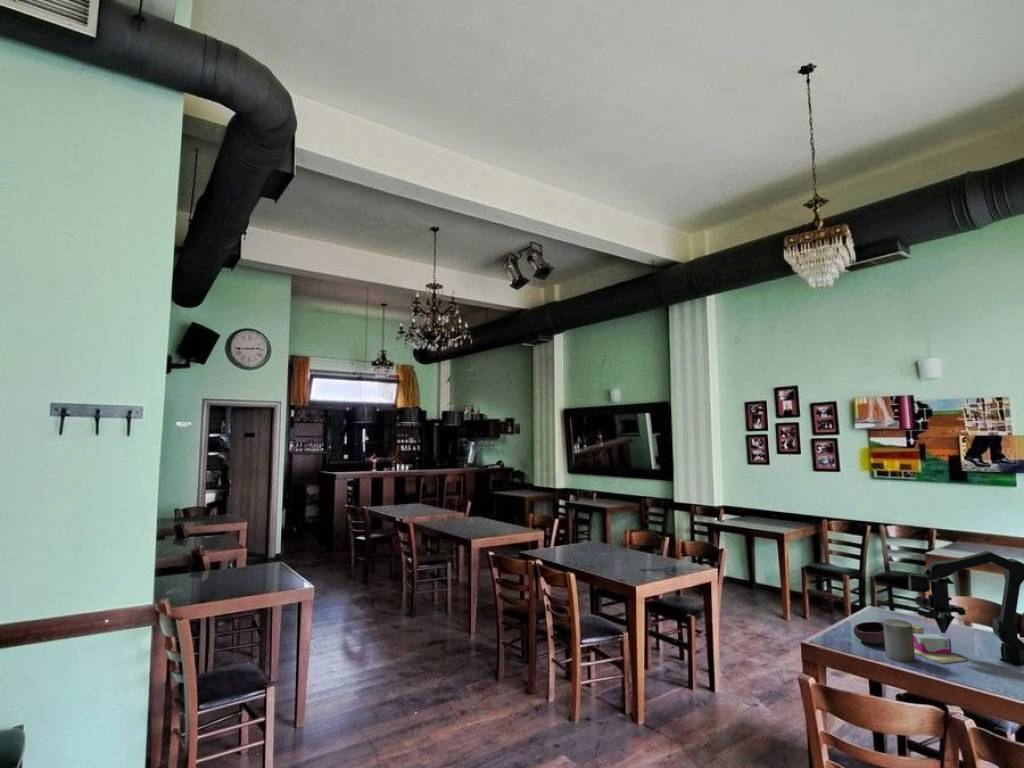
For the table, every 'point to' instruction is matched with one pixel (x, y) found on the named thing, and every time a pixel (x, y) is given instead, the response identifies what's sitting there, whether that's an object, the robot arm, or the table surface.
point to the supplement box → (932, 643)
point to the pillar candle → (899, 640)
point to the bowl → (870, 632)
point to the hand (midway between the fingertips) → (943, 633)
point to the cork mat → (940, 657)
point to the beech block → (917, 629)
